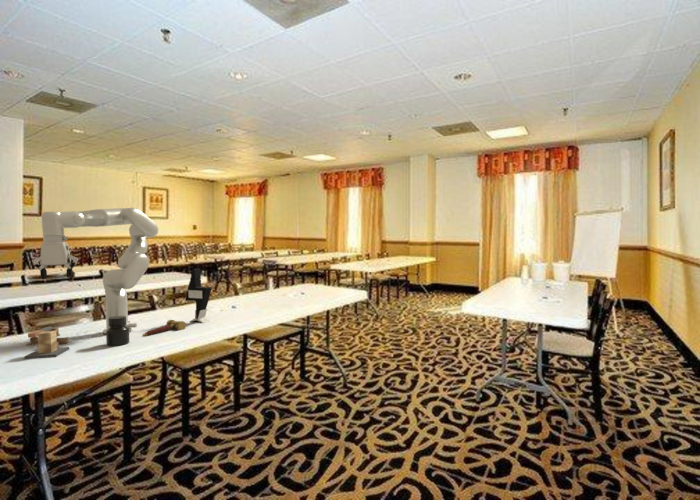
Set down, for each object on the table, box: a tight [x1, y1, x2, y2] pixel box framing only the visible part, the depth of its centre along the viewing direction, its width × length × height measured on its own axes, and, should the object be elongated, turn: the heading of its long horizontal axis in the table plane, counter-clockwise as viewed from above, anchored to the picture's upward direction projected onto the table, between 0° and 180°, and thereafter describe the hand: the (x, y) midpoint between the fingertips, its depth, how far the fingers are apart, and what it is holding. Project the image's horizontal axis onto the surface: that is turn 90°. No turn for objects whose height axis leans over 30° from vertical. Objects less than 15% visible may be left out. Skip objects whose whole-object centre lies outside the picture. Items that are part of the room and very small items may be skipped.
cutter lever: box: [27, 326, 54, 339], centre depth 181 cm, size 3×15×2 cm, turn 12°
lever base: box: [25, 326, 61, 347], centre depth 183 cm, size 5×18×4 cm, turn 12°
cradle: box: [57, 337, 69, 348], centre depth 173 cm, size 7×10×2 cm
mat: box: [23, 346, 70, 360], centre depth 161 cm, size 11×11×1 cm
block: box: [37, 331, 58, 353], centre depth 161 cm, size 4×4×8 cm
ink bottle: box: [105, 316, 130, 347], centre depth 176 cm, size 10×9×12 cm
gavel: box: [142, 319, 187, 337], centre depth 197 cm, size 21×5×10 cm
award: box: [184, 268, 212, 324], centre depth 221 cm, size 15×5×30 cm, turn 68°
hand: (57, 278), depth 174 cm, fingers open, 9 cm apart
